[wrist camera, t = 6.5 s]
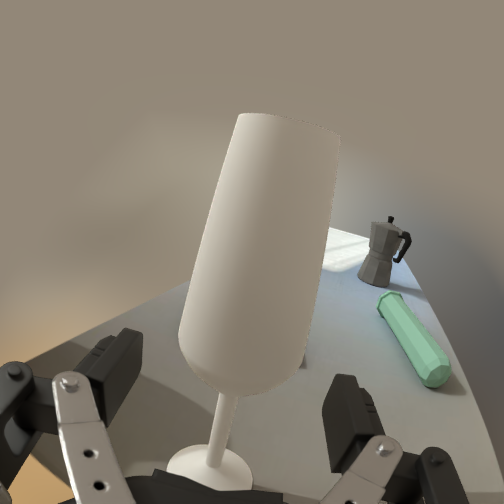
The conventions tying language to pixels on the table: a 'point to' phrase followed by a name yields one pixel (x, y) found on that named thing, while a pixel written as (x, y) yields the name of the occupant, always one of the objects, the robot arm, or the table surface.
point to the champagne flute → (256, 276)
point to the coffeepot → (383, 252)
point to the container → (415, 340)
